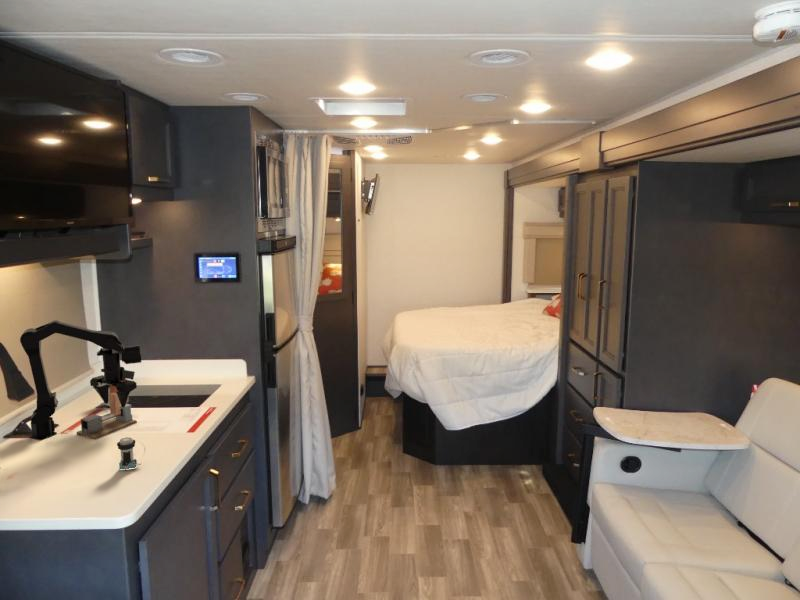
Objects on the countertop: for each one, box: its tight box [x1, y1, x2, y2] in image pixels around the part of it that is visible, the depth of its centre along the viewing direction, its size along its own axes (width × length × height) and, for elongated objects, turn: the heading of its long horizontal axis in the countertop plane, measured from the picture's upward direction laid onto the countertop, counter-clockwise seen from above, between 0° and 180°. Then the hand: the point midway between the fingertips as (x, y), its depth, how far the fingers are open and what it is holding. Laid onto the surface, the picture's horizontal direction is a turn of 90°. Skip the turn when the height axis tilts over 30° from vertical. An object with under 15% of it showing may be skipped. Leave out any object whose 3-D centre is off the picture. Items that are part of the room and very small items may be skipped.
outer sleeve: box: [80, 414, 103, 435], centre depth 215 cm, size 6×4×6 cm
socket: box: [116, 403, 134, 422], centre depth 227 cm, size 3×6×6 cm, turn 65°
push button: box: [116, 436, 142, 471], centre depth 187 cm, size 7×5×10 cm
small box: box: [103, 378, 129, 407], centre depth 248 cm, size 8×6×10 cm
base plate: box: [76, 417, 138, 440], centre depth 221 cm, size 18×10×1 cm, turn 154°
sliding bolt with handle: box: [101, 393, 123, 422], centre depth 221 cm, size 14×3×9 cm, turn 154°
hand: (115, 405), depth 223 cm, fingers open, 9 cm apart
